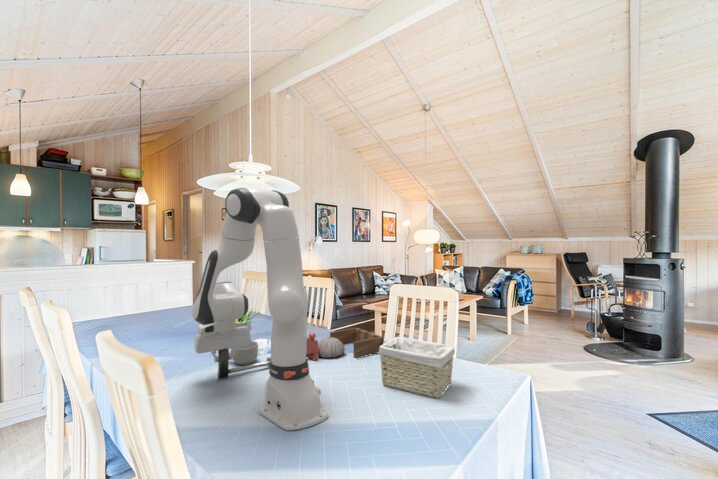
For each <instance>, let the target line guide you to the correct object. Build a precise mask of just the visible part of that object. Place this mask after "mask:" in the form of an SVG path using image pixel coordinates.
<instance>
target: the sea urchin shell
mask: <svg viewBox="0 0 718 479" xmlns="http://www.w3.org/2000/svg"><path fill="white" fill-rule="evenodd" d="M345 351H346V348H345V344H344V345H343V344H342V342H341V341H339V340H338V339H336V338H334V337H330V336H328V337H327V336H326V337H324V338H322V339H321V340H319V341H318V357H321V358H327V359H328V358H329V359H330V358H337V357H339V356H342V355H343V354H344V353H345Z"/></svg>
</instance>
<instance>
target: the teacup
mask: <svg viewBox="0 0 718 479" xmlns="http://www.w3.org/2000/svg"><path fill="white" fill-rule="evenodd" d="M230 353H231V352H229V354H230ZM258 356H259V342H257V341H255V340H251V343H250V344H249V345H246V346H240V347H236V351H235V352H234V354H233V359H232V360H233V362H234V363H235V364H237V365H239V366H240V365H241V366H247V365H252V364H253V363H254V361H255V360H257V358H258Z"/></svg>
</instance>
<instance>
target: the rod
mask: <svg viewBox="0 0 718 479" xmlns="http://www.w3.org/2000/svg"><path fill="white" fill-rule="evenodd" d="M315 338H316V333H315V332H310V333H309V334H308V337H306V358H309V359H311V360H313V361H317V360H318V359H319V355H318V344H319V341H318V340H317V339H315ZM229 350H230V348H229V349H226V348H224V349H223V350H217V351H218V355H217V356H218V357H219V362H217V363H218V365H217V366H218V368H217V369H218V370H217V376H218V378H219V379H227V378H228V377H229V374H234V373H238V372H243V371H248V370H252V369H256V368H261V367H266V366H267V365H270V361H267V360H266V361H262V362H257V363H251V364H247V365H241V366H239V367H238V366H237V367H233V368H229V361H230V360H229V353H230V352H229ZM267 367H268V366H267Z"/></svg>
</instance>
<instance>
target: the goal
mask: <svg viewBox="0 0 718 479" xmlns="http://www.w3.org/2000/svg"><path fill="white" fill-rule="evenodd" d="M329 337H334V338H336V339H338V340H339V341H341V342H342V344H343V345H344V346H345V345H348V343H349V344H353V358H354V359H355V358H356V359H358V358H357V357H360V358H362V357H361V356H364V357H366V356H365V355H368V356H370V355H369V354H372V355H374V354H373V353H377V352H379V348H380V346H381V345H383V344H384V337H383V336H381V335H379V334H376V333H373V332H370V331H367V330H364V329H361V328H358V327H352V328H346V329H340V330H333V331H330V332H329ZM353 342H354V343H353ZM377 354H378V353H377Z"/></svg>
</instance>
